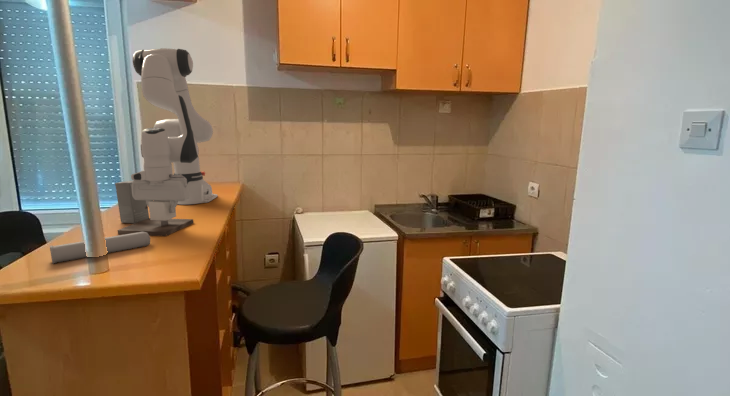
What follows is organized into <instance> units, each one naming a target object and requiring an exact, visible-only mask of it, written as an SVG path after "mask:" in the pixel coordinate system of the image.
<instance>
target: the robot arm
mask: <svg viewBox="0 0 730 396" xmlns="http://www.w3.org/2000/svg"><path fill="white" fill-rule="evenodd" d="M132 66H133V69H134V70H135V73H136V74H138V75H139V76H140V77H141V78H140V79H141V81H140V83H141V92H142V95H143V98H144V99H145V100H146V101H147V102H148V103H149V104H151V105H153V106H154V107H156V108H158V109H162V110H165V111H168V112H171V113H172V114H174V115H175V116H176V117H177V118H165V119H162V120H157V121H155V123H154V124H153V125H154V126H153V127H148V128H144V129H143V130H142V131H141V138H140V139H141V140H140V153H141V157H142V158H143V161H144V162H143V170H141V171H138V172H135V173H132V174H131V175H130V177H131V178H130V179H131V181H133V182H132V186H131V187H132V196H133V198H134V199H135V200H146V204H147V205H148V208H149V203H148V202H151V201H171V204H172V206H171V208H169V213H175V212H176V208H177V205H183V206H184V205H195V204H203V203H210V202H211V201H213V200H214V199H216V198H217V197H218V194H216V193H213V188H212V185H211V184H209V183H208V182H207V181H206V180H205V179H204V177H203V176H206V172H205V171H201V165H200V158H199V151H200V150H199V146H198V144H200V143H204V142H208V141H210V140H211V139H212V138H213V133H214V129H213V126H212V124H211V123H210V122H209V120H207V119H205V118H203V117H202V116H201V115H200V114H199V113H198V111H197V110H196V109H195V107H194V105H193V103H192V100H191V95H190V92H189V91H190V90H189V87H188V82H187V79H186V77H187V76H190V74H191V73H193V69H194V62H193V58H192V57H191V54H190V52H188V51H187V50H186V49H182V48H177V49H175V48H167V47H166V48H163V47H162V48H153V49H140V50H136V51H135V52H134V53H133V55H132ZM172 163H173V165H172ZM173 170H174V173H173ZM176 213H177V212H176Z"/></svg>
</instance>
